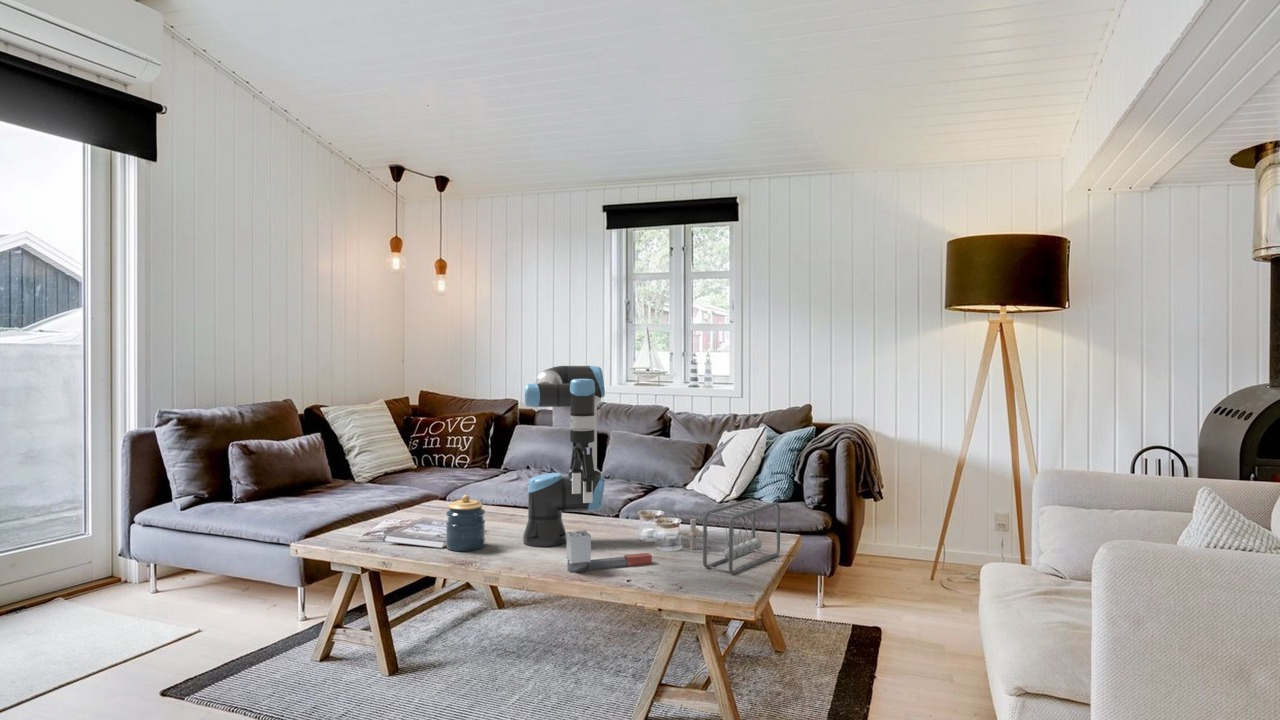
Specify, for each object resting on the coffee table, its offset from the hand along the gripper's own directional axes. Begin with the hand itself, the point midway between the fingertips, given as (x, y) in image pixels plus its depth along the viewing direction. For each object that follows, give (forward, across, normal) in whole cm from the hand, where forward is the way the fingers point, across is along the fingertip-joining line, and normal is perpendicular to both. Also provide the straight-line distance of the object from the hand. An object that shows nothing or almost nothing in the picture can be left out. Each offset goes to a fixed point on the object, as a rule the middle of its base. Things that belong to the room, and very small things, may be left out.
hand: (582, 498), depth 226 cm
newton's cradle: (+22, +11, +50) cm, 56 cm away
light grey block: (+18, +2, -2) cm, 19 cm away
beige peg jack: (+22, -8, +41) cm, 47 cm away
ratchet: (+21, +2, +8) cm, 23 cm away
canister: (+22, -36, -31) cm, 52 cm away
